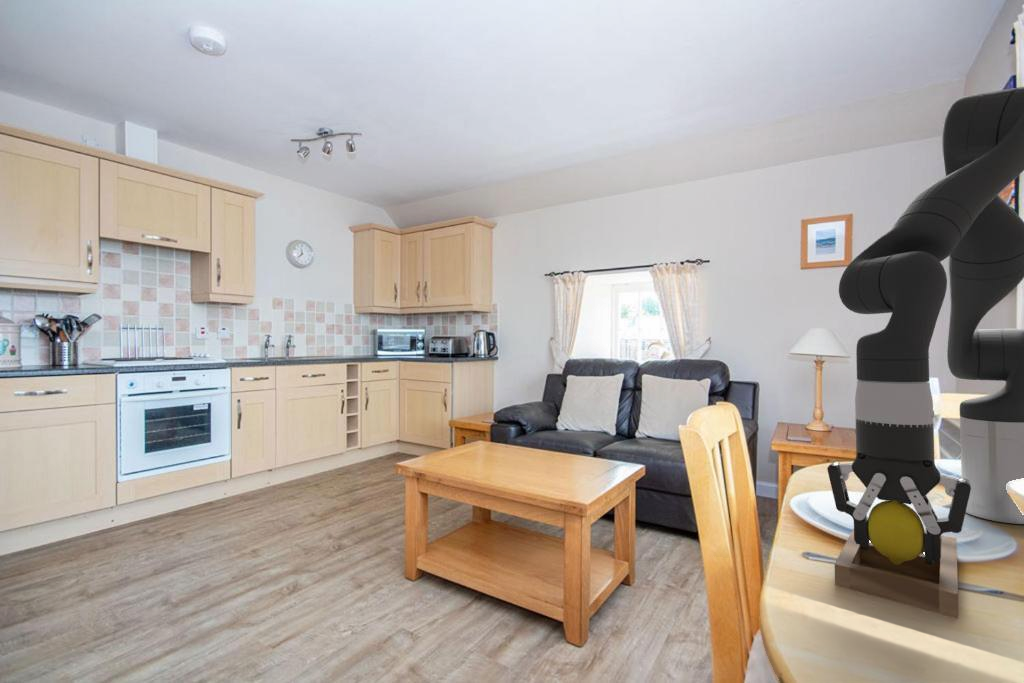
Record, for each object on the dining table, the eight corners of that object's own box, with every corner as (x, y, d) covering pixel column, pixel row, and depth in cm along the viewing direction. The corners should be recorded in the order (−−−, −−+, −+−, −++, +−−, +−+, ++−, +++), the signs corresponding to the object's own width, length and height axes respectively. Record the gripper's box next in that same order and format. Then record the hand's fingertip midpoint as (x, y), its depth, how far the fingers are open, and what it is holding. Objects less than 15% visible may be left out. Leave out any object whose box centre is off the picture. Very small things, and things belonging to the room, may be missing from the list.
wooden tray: (858, 546, 73) (858, 519, 73) (957, 567, 66) (956, 538, 66) (835, 596, 58) (834, 563, 58) (958, 632, 51) (957, 594, 51)
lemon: (904, 555, 61) (902, 492, 61) (938, 575, 56) (936, 506, 56) (858, 553, 62) (856, 491, 62) (887, 573, 56) (885, 505, 56)
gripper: (818, 416, 61) (821, 549, 61) (975, 427, 51) (979, 586, 51) (829, 409, 67) (832, 532, 66) (972, 419, 57) (976, 562, 57)
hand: (896, 554), depth 59 cm, fingers closed on lemon, 5 cm apart
